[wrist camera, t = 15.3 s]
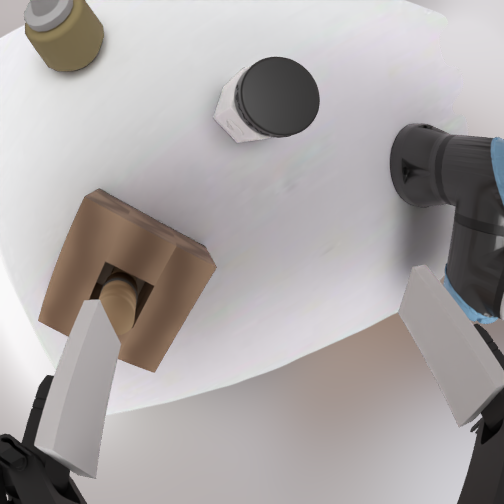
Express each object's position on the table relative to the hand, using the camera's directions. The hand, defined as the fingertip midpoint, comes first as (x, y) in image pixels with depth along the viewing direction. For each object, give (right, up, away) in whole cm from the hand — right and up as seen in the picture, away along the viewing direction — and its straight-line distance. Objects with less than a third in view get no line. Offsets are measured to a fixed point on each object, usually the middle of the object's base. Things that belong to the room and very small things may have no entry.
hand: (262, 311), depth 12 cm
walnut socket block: (-17, 0, +26) cm, 31 cm away
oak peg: (-17, 0, +25) cm, 30 cm away
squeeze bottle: (-22, +28, +15) cm, 39 cm away
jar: (-1, +21, +25) cm, 32 cm away
